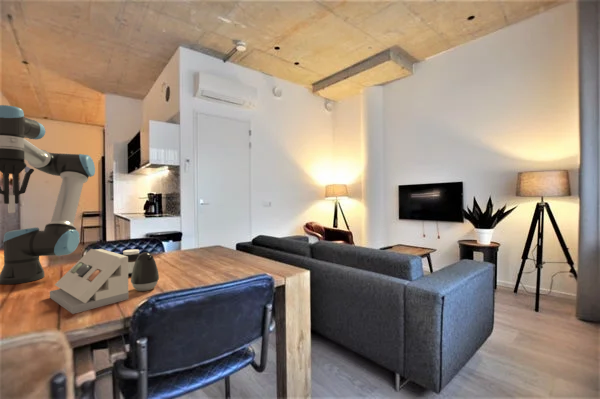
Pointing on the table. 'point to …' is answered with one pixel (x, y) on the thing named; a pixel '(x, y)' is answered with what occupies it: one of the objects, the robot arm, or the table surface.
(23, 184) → the robot arm
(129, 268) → the spread jar
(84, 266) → the charcoal button
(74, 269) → the sage button
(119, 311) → the table surface
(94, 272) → the terracotta button
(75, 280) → the button console
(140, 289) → the dark grey egg figure
